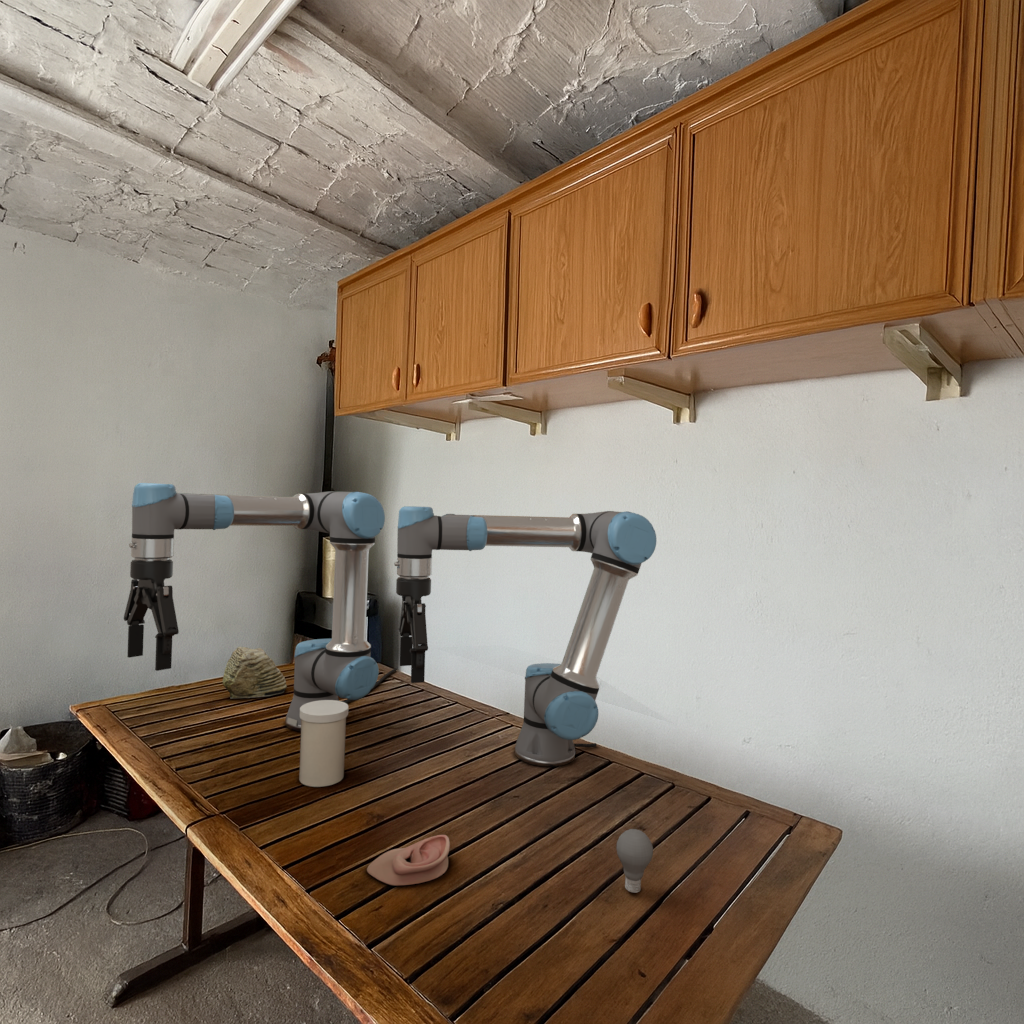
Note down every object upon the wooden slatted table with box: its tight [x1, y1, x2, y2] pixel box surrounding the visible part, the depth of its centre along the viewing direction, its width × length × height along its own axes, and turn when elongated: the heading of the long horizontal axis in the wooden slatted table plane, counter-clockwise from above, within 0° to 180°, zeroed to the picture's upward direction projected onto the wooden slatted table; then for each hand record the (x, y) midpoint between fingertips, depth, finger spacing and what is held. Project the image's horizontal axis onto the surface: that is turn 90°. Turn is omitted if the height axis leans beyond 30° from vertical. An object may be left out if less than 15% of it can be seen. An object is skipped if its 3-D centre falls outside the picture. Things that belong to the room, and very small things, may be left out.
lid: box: [300, 700, 349, 723], centre depth 143 cm, size 10×10×2 cm
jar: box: [298, 717, 347, 788], centre depth 143 cm, size 10×10×16 cm
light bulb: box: [615, 828, 654, 894], centre depth 106 cm, size 6×6×10 cm
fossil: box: [222, 646, 288, 699], centre depth 198 cm, size 9×18×15 cm, turn 132°
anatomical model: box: [366, 834, 451, 886], centre depth 109 cm, size 13×4×12 cm
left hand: (148, 662), depth 129 cm, fingers open, 13 cm apart
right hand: (411, 673), depth 139 cm, fingers open, 13 cm apart
